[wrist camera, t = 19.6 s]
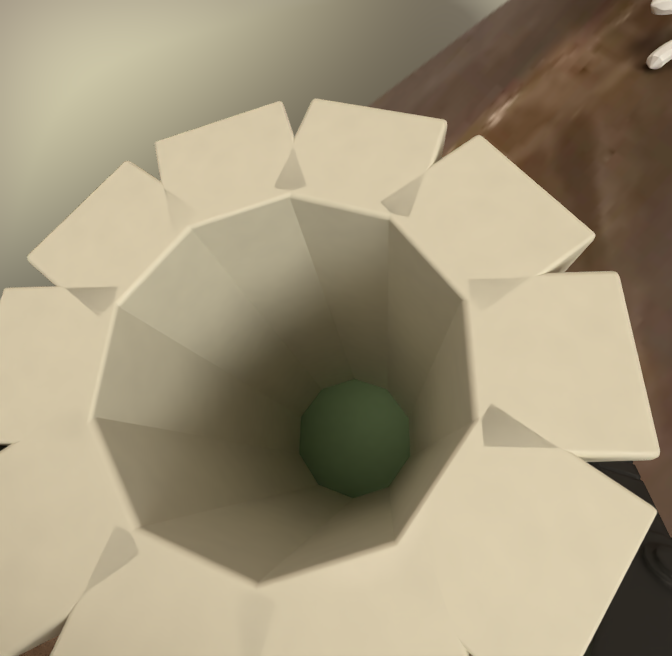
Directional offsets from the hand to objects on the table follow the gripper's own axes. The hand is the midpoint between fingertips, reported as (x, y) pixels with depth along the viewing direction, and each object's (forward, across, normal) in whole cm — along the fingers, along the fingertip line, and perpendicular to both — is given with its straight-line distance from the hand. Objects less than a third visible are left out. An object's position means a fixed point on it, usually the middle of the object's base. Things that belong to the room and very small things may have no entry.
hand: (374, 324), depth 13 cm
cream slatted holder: (+1, 0, -5) cm, 5 cm away
